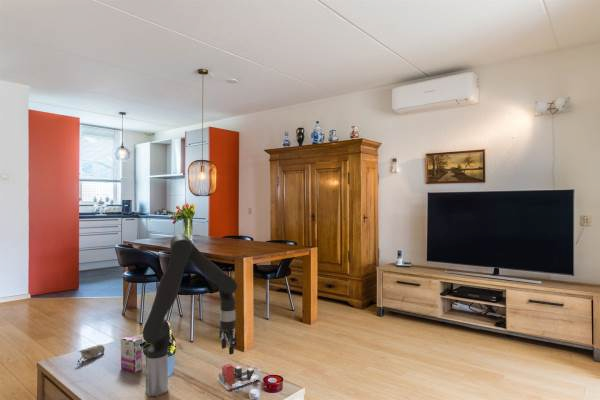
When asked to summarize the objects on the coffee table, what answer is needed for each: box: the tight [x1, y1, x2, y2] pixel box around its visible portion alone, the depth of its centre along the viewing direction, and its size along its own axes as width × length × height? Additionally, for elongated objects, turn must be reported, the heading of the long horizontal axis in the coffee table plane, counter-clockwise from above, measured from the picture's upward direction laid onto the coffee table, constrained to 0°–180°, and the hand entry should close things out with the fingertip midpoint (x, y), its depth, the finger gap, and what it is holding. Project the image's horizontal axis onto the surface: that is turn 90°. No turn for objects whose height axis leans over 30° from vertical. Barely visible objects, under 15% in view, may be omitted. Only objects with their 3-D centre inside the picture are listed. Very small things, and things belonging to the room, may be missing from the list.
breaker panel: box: [217, 369, 250, 392], centre depth 186 cm, size 17×12×4 cm
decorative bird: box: [77, 344, 105, 364], centre depth 213 cm, size 5×16×7 cm, turn 160°
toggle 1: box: [234, 365, 243, 377], centre depth 189 cm, size 2×3×4 cm
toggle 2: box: [246, 367, 255, 379], centre depth 186 cm, size 2×3×4 cm
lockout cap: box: [221, 363, 235, 382], centre depth 185 cm, size 4×4×6 cm
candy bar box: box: [120, 335, 143, 373], centre depth 199 cm, size 11×5×16 cm, turn 62°
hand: (227, 351), depth 186 cm, fingers open, 8 cm apart
